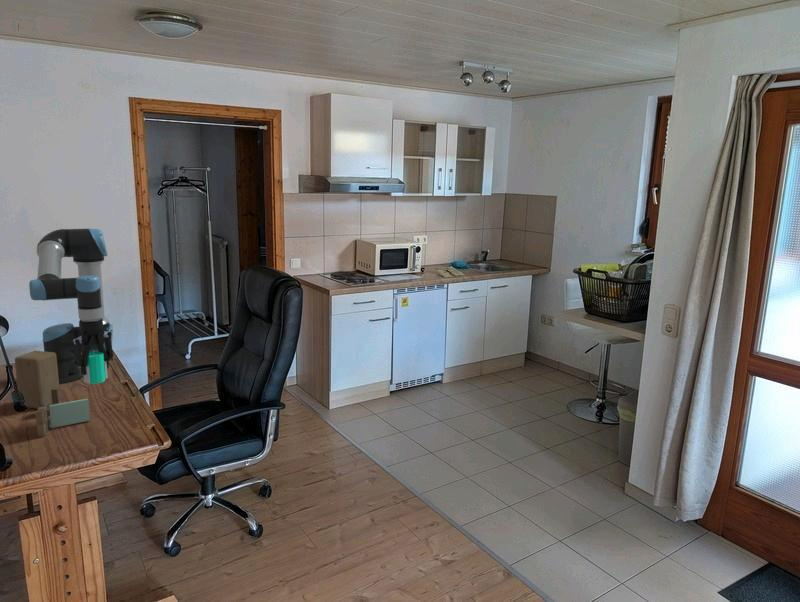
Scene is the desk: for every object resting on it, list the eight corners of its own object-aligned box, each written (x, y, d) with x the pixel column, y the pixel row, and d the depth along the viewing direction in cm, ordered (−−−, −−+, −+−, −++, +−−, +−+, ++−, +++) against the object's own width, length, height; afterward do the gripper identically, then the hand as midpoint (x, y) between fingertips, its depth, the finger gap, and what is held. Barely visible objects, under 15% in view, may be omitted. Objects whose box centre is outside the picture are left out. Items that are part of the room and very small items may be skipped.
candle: (91, 378, 213) (88, 347, 211) (108, 378, 214) (105, 347, 211) (84, 383, 207) (81, 352, 205) (101, 383, 208) (99, 352, 205)
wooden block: (41, 410, 215) (36, 359, 211) (18, 407, 217) (13, 357, 213) (61, 400, 225) (57, 351, 221) (40, 398, 227) (34, 349, 223)
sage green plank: (51, 428, 200) (49, 406, 198) (51, 426, 201) (48, 405, 199) (90, 420, 207) (88, 399, 205) (89, 419, 208) (87, 398, 206)
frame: (56, 409, 217) (54, 385, 215) (62, 408, 217) (60, 385, 215) (37, 437, 194) (35, 411, 192) (44, 436, 194) (41, 410, 192)
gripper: (109, 312, 215) (113, 371, 220) (58, 322, 199) (64, 385, 204) (121, 315, 212) (125, 375, 217) (70, 326, 196) (76, 389, 201)
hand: (96, 379), depth 210 cm, fingers closed on candle, 6 cm apart
